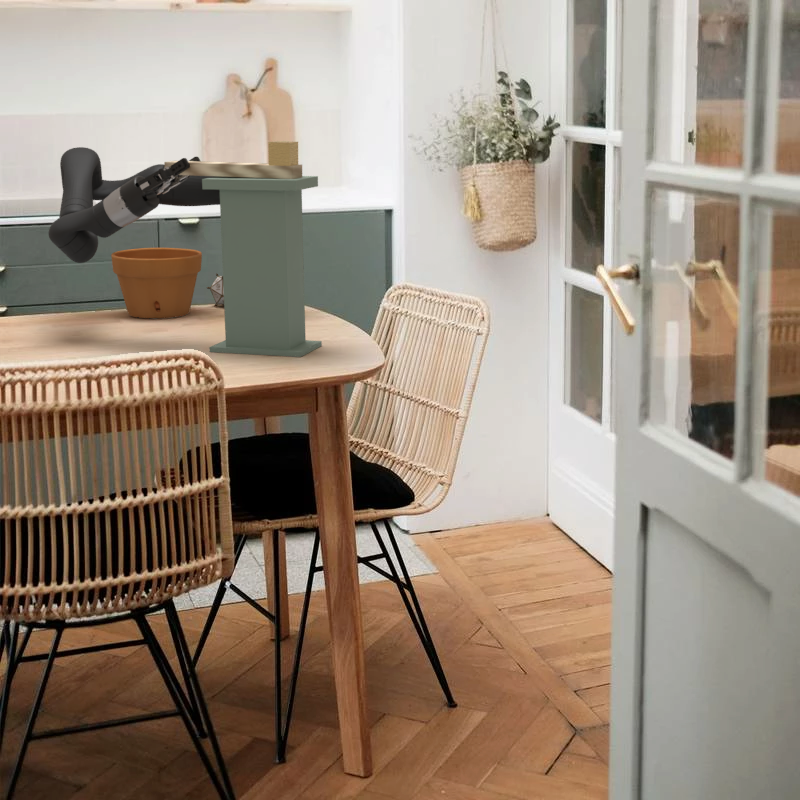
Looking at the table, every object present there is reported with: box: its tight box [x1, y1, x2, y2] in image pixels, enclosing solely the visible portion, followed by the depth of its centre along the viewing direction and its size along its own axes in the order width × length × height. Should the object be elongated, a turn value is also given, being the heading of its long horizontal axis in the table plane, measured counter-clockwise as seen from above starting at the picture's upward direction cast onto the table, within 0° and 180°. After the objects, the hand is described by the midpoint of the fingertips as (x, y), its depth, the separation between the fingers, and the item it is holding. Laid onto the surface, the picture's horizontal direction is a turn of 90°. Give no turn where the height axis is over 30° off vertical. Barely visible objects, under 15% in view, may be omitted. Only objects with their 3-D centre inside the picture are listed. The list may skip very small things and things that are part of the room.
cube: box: [267, 140, 299, 166], centre depth 258 cm, size 4×4×4 cm
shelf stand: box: [202, 175, 323, 358], centre depth 264 cm, size 20×12×35 cm, turn 73°
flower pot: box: [110, 247, 203, 319], centre depth 310 cm, size 21×21×15 cm
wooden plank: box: [163, 160, 303, 179], centre depth 262 cm, size 28×5×2 cm, turn 73°
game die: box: [206, 272, 224, 307], centre depth 321 cm, size 9×8×10 cm
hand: (193, 161), depth 264 cm, fingers closed on wooden plank, 5 cm apart
